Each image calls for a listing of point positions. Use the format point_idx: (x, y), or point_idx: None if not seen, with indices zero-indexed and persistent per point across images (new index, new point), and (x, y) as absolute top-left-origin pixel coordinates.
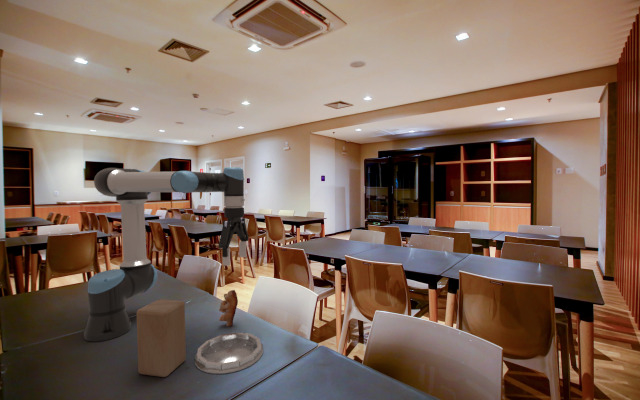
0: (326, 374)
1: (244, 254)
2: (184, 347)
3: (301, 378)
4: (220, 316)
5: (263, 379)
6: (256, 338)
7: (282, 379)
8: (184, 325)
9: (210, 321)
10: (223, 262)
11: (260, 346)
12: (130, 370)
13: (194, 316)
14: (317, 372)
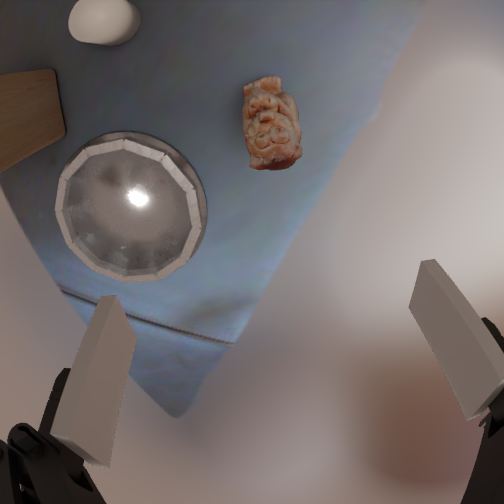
0: (161, 367)
1: (420, 318)
2: (44, 147)
3: None
4: (264, 79)
5: None
6: (185, 254)
7: None
8: (12, 165)
9: (279, 29)
10: (97, 320)
11: (158, 279)
12: (9, 64)
13: None
14: (158, 359)
